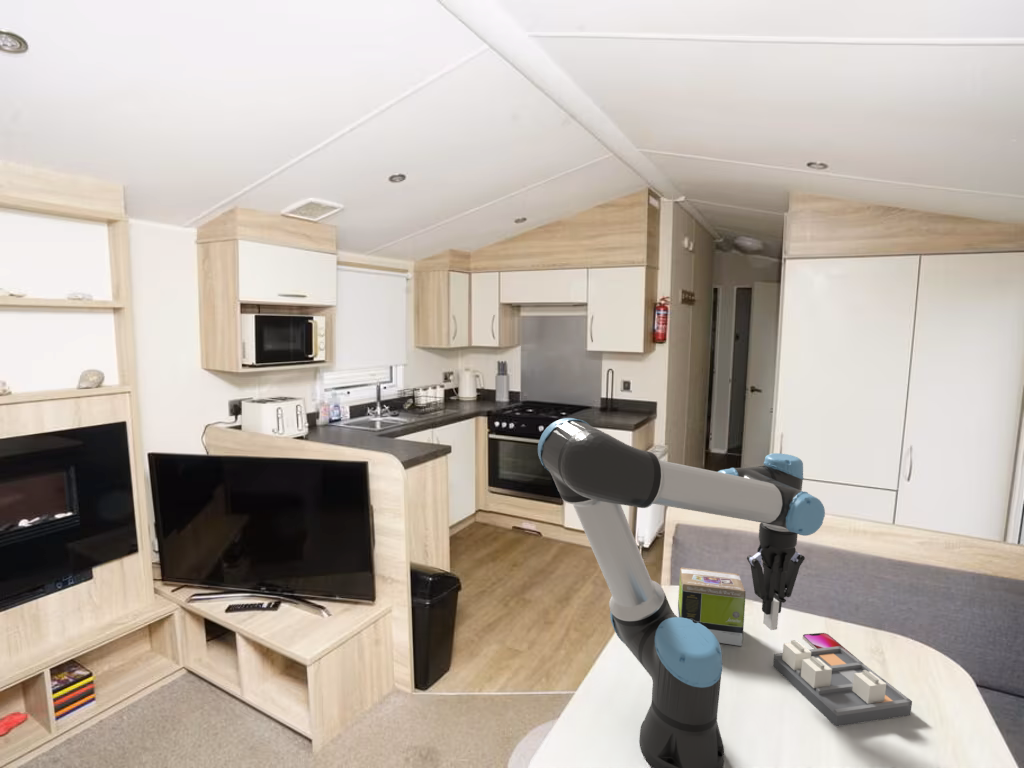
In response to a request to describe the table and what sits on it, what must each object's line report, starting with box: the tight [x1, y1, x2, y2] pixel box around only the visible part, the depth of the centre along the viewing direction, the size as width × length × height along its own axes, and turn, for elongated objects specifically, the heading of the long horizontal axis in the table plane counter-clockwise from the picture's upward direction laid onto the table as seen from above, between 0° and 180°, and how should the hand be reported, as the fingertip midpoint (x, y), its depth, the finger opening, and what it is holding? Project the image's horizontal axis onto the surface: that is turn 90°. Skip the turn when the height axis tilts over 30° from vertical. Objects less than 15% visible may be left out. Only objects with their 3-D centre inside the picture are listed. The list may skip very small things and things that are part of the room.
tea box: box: [677, 567, 747, 647], centre depth 141 cm, size 15×10×15 cm, turn 77°
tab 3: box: [852, 670, 886, 704], centre depth 115 cm, size 4×4×5 cm
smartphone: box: [802, 632, 866, 665], centre depth 134 cm, size 7×1×15 cm
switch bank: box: [772, 646, 913, 728], centre depth 121 cm, size 18×19×3 cm
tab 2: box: [801, 656, 832, 688], centre depth 119 cm, size 4×4×5 cm
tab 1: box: [782, 639, 811, 670], centre depth 125 cm, size 4×4×5 cm
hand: (770, 626), depth 122 cm, fingers closed
